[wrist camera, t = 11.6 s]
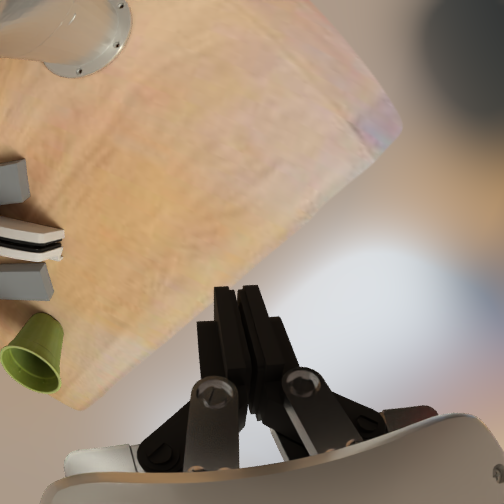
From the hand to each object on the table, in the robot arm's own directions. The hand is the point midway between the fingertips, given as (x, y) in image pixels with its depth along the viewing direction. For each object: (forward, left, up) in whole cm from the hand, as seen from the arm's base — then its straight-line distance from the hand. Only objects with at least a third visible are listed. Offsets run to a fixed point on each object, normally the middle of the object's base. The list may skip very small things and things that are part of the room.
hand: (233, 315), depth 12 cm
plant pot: (+28, -30, -29) cm, 50 cm away
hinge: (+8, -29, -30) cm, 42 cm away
